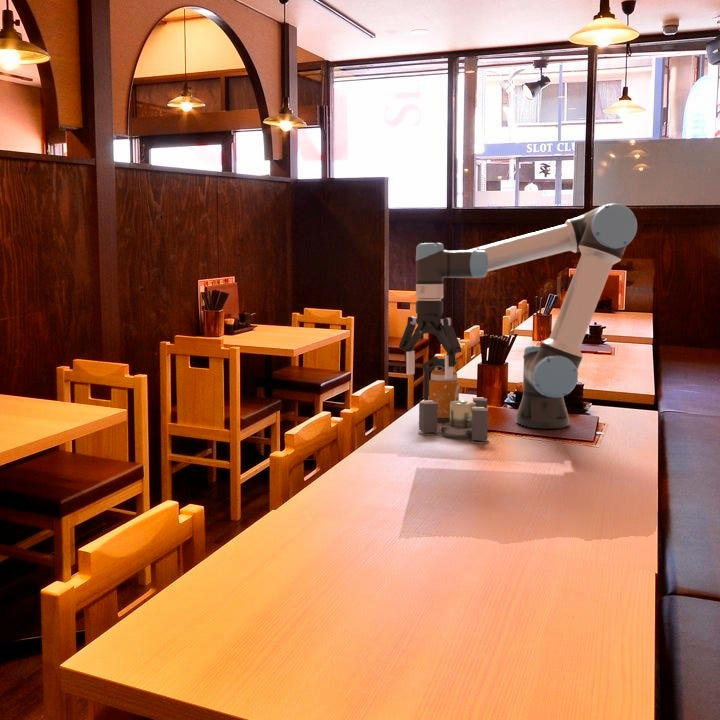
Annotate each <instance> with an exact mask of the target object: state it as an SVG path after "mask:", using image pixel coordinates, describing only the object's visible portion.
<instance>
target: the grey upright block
mask: <svg viewBox="0 0 720 720" xmlns="http://www.w3.org/2000/svg"><path fill="white" fill-rule="evenodd" d="M418 404H419V405H418V409H419V411H418V431H419V432H420V431H422V432H423V433H425V432H438V423H437V412H438V403H436V402H433V401H432V400H431V401H424V400H420V401H419V403H418Z"/></svg>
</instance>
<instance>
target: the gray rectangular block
mask: <svg viewBox="0 0 720 720" xmlns="http://www.w3.org/2000/svg"><path fill="white" fill-rule="evenodd" d="M488 411H489V408H488V407H487V408H484V407H472V440H483V441H487V440H488V419H489V412H488Z"/></svg>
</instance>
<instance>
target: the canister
mask: <svg viewBox="0 0 720 720" xmlns="http://www.w3.org/2000/svg"><path fill="white" fill-rule="evenodd" d="M432 363H433V364H432ZM457 363H458V360H456V359H455V365H456V364H457ZM431 364H432V365H431ZM429 365H431V366H429ZM421 367H422V369H423V374H424V375H423V401H431V400H432V401H433V402H436V403H438V412H437V424H439V425H441V424H443V423H448V422H450V402H452V401H460V400H459V398H460V381H459V380H458V372H457V370H455V369H453V378H451V379H445V357H437V356H434V357H432V358H430V360H428V361H425V362H424V363H422V364H421ZM430 372H431V373H430Z"/></svg>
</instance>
